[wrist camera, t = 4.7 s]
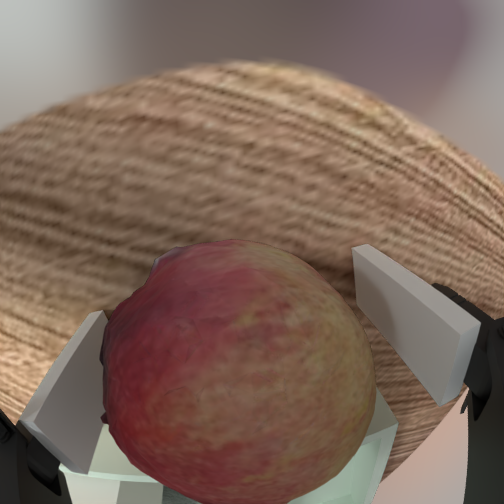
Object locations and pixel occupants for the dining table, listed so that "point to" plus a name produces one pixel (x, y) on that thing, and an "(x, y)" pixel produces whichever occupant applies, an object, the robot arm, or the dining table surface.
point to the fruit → (237, 375)
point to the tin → (175, 497)
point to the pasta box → (112, 491)
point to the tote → (320, 500)
